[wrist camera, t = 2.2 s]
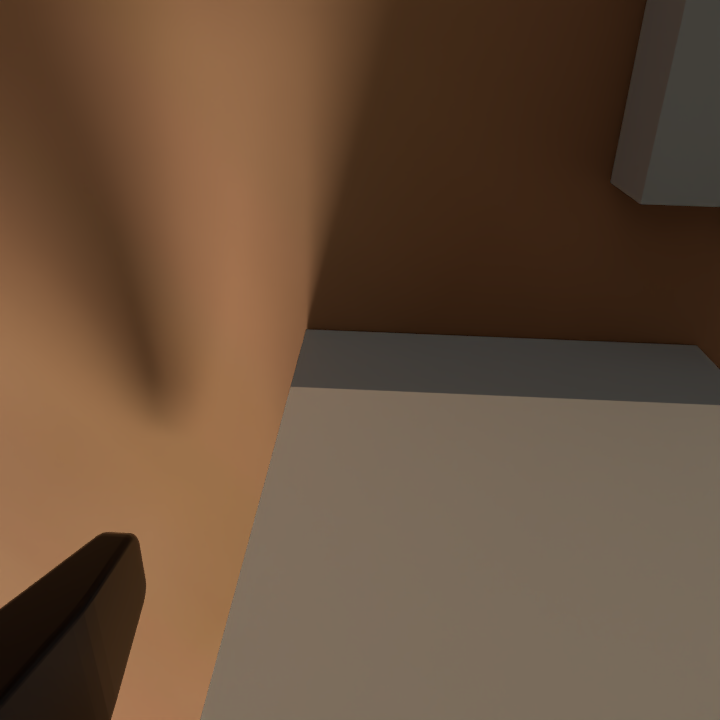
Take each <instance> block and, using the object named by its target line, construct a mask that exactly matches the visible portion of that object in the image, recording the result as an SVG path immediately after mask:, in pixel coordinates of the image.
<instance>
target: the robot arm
mask: <svg viewBox="0 0 720 720" xmlns="http://www.w3.org/2000/svg"><path fill="white" fill-rule="evenodd" d="M145 593H146V579H145V574H144V568H143V562H142V556H141V550H140V544H139V541H138V538H137V537H136V536H135V535H134V534H131V533H116V532H105V533H102V534H100V535H98V536H96V537H95V538H94V539H92V540H91V541H90V542H88V543H87V544H86V545H84V546H83V547H82V548H80V549H79V550H78V551H76V552H75V553H74V554H72V555H71V556H70V557H68V558H67V559H66V560H64V561H63V562H62V563H60V564H59V565H58V566H56V567H55V568H54V569H52V570H51V571H50V572H49V573H47V574H46V575H45V576H43V577H42V578H41V579H39V580H38V581H37V582H35V583H34V584H33V585H31V586H30V587H29V588H27V589H26V590H25V591H23V592H22V593H21V594H19V595H18V596H17V597H15V598H14V599H13V600H11V601H10V602H9V603H7V604H6V605H5V606H3V607H2V608H1V609H0V720H111V717H112V714H113V711H114V707H115V704H116V701H117V697H118V693H119V690H120V686H121V683H122V679H123V675H124V672H125V668H126V665H127V661H128V657H129V654H130V650H131V646H132V643H133V639H134V636H135V632H136V628H137V625H138V621H139V618H140V614H141V610H142V607H143V603H144V599H145Z"/></svg>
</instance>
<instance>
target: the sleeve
mask: <svg viewBox="0 0 720 720" xmlns="http://www.w3.org/2000/svg"><path fill="white" fill-rule="evenodd" d="M200 720H720V369H719V368H718V367H717V366H716V365H715V364H714V363H713V362H712V361H711V360H710V359H709V358H708V357H707V356H706V355H705V354H704V353H703V352H702V350H701V349H700V348H699V347H698V346H697V345H675V344H651V343H626V342H602V341H578V340H553V339H529V338H504V337H480V336H456V335H431V334H407V333H383V332H358V331H334V330H310V329H306V332H305V336H304V339H303V343H302V347H301V350H300V354H299V358H298V361H297V365H296V369H295V372H294V376H293V380H292V383H291V387H290V391H289V394H288V398H287V402H286V406H285V409H284V413H283V417H282V420H281V424H280V428H279V431H278V435H277V439H276V442H275V446H274V450H273V453H272V457H271V461H270V464H269V468H268V472H267V476H266V479H265V483H264V487H263V490H262V494H261V498H260V501H259V505H258V509H257V512H256V516H255V520H254V523H253V527H252V531H251V534H250V538H249V542H248V545H247V549H246V553H245V557H244V560H243V564H242V568H241V571H240V575H239V579H238V582H237V586H236V590H235V593H234V597H233V601H232V604H231V608H230V612H229V615H228V619H227V623H226V627H225V630H224V634H223V638H222V641H221V645H220V649H219V652H218V656H217V660H216V663H215V667H214V671H213V674H212V678H211V682H210V685H209V689H208V693H207V697H206V700H205V704H204V708H203V711H202V715H201V719H200Z"/></svg>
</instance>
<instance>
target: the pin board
mask: <svg viewBox="0 0 720 720" xmlns="http://www.w3.org/2000/svg"><path fill="white" fill-rule="evenodd" d="M610 183H612V184H613V185H614V186H616V187H617V188H618V189H620V190H621V191H623V192H624V193H625V194H627V195H628V196H630V197H631V198H632V199H634V200H635V201H637V202H638V203H639V204H650V205H677V206H705V207H720V0H647V2H646V7H645V12H644V17H643V22H642V27H641V32H640V37H639V42H638V47H637V52H636V57H635V62H634V67H633V72H632V77H631V82H630V87H629V92H628V97H627V102H626V107H625V112H624V117H623V122H622V127H621V132H620V137H619V142H618V147H617V151H616V156H615V161H614V166H613V171H612V176H611V181H610Z"/></svg>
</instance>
